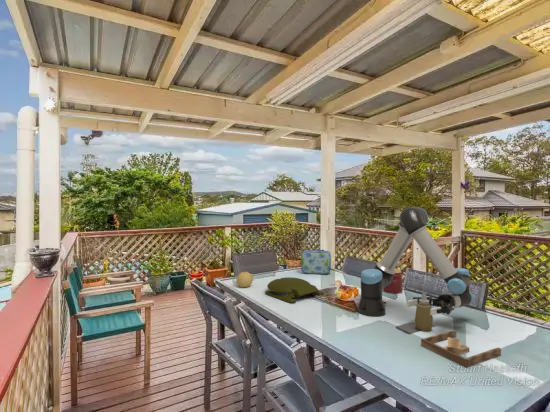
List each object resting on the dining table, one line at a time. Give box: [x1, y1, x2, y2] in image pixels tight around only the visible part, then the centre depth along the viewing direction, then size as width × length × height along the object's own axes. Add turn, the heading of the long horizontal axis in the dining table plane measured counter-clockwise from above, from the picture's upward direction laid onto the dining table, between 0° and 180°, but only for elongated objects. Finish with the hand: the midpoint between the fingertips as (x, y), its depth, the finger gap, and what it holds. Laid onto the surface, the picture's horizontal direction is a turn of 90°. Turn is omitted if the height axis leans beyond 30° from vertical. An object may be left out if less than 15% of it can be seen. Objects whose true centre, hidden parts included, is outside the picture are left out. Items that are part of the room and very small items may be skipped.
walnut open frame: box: [420, 329, 502, 368], centre depth 132 cm, size 22×20×4 cm
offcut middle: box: [441, 342, 470, 356], centre depth 131 cm, size 5×11×2 cm, turn 113°
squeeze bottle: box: [414, 292, 434, 332], centre depth 154 cm, size 8×8×18 cm
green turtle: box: [264, 276, 325, 304], centre depth 219 cm, size 35×31×10 cm
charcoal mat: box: [395, 321, 437, 335], centre depth 154 cm, size 18×18×1 cm
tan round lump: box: [236, 271, 254, 288], centre depth 238 cm, size 12×12×11 cm
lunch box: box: [300, 249, 332, 275], centre depth 278 cm, size 26×11×21 cm, turn 81°
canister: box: [382, 267, 404, 294], centre depth 223 cm, size 13×13×18 cm
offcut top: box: [447, 337, 461, 355], centre depth 131 cm, size 4×10×2 cm, turn 151°
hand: (418, 307), depth 153 cm, fingers open, 13 cm apart
